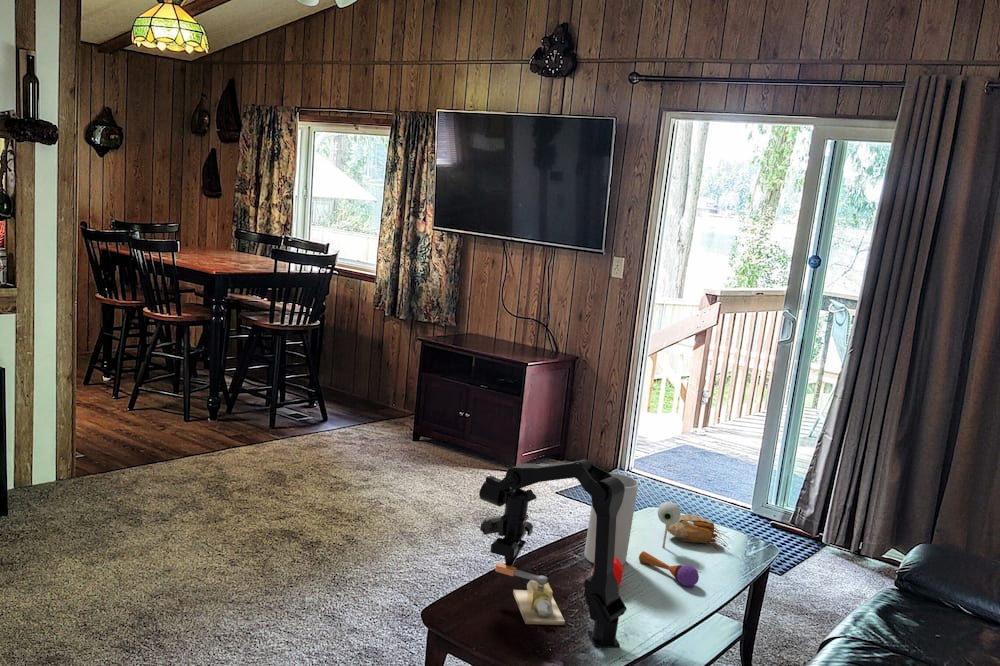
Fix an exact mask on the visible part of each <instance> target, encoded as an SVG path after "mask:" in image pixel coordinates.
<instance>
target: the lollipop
mask: <svg viewBox="0 0 1000 666" xmlns="http://www.w3.org/2000/svg"><path fill="white" fill-rule="evenodd" d="M680 515H682V514H681V509H680V507H679V506H678V505H677V504H676V503H674V502H671V501H665V502H663V503H661V504H659V506H658V509H657V517H658V519H659V521H660V522H661V523H662V524H664V525H665V531H664V534H663V542H662V546H661V548H663V549H664V548H665V546H666V540H667V533H668V530H667V529H668V525H673V524H675V523H676V522H678V520H679V519H680Z"/></svg>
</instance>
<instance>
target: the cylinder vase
mask: <svg viewBox="0 0 1000 666" xmlns="http://www.w3.org/2000/svg"><path fill="white" fill-rule="evenodd" d="M608 473H609V474H611V475H612V476H613V477H616V478H618V479H619V480H620V481H621V482H622V483H623V484H624V487H625V492H624V497H623V501H622V504H621V507H620V509H619V511H618V513H617V516H616V533H615V552H614V558H617V559H618V560H619V562H620V563H621V564H622V566H623V565H625V564H626V562H627V556H628V550H629V544H630V537H631V530H632V526H633V525H632V524H633V520H634V519H633V517H634V513H635V507H636V500H637V494H638V493H637V492H638V487H639V482H638V481H637V479H635V478H633V477H631V476H628V475H625V474H620V473H615V472H608ZM589 513H590V514H589V521H588V526H587V534H586V539H585V540H586V541H585V547H584V553H583V554H584V555H583V556H584V557H585V560H587V561H589V562H590V563H592V564H594V559H595V539H596V519H597V516H596V513H595V511H594V508H593V506H592V505H591V507H590V512H589Z"/></svg>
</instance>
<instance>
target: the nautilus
mask: <svg viewBox="0 0 1000 666" xmlns="http://www.w3.org/2000/svg"><path fill="white" fill-rule="evenodd" d="M718 528H719V526H718V525H717V526H716V525H715V524H714V522H713V521H711V520H708V519H706V518H705V517H702V516H701V515H698V514H697V515H696V514H681V515H680V519H679V520H678V522H676V523H675V524H673V525H668V529H667V533H669V534H670V535H672V536H674V537H676V538H678V539H679V540H680V541H682V542H687V543H695V544H697V543H704V544H709V545H712V546H713V547H714V548H715V549H716V550H718V549H720V548H721V549H724V547H726V548H728V550H730V548H729V547H728V546H729V544H728V543H727V542H726V541H725V540H724V538H722V536H721V535H723V536H724V537H725V538H727V539H729V537H728V536H727V535H725V534H724V533H728V532H727V531H726V532H725V531H723V530H719V529H718ZM718 535H719V536H718ZM716 543H719V544H721V545H722V546H721V545H718V544H716ZM723 546H724V547H723Z"/></svg>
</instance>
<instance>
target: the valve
mask: <svg viewBox="0 0 1000 666" xmlns="http://www.w3.org/2000/svg"><path fill="white" fill-rule="evenodd" d="M526 590H527V594H528V596H527V601H528V604H529V606H530V608H531V610H535V612H536V613H538V614H539V616H540V617H541V618H543V619H547V618H549V617H550V616H551V615H552V613H553V610H552V603H551V601H552V596H553V593H554V591H553V590H552V588H551V586H550V583H549V582H547V584H544V585H543V584H539V583H537V582H536V581H533V580H528V582H527V584H526Z"/></svg>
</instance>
